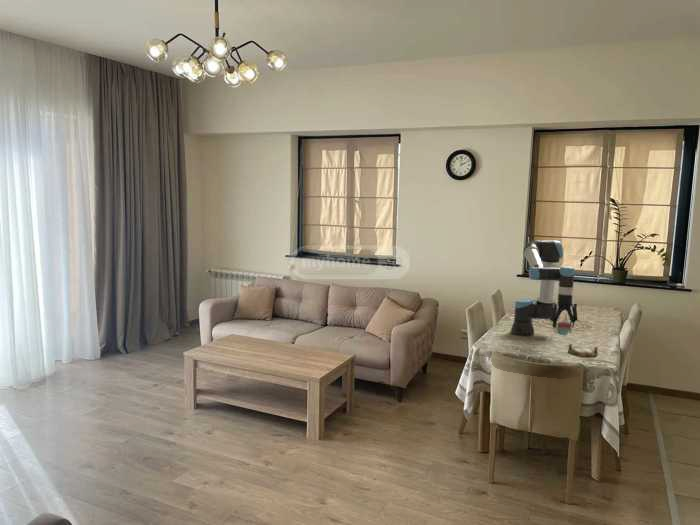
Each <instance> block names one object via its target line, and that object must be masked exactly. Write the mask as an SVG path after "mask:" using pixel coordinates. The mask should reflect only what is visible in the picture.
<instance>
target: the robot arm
mask: <svg viewBox="0 0 700 525" xmlns="http://www.w3.org/2000/svg"><path fill="white" fill-rule="evenodd" d="M563 249H564V248H563V245H562V242H561V241H559V240H554V239H552V240H551V239H548V240H547V239H546V240H544V239H541V240H540V239H536V240H535V239H534V240H531V241H529V242H527V243H526V245H525V246H524V247H523V251H522V252H523V256H524V258H525V259H526V260H527V262H528V264H529V269H528V276H529V280H533V281H540V288H539V296H538V297H537V298H536V301H534V299H532V298H521V299H517V300H515V303H514V318H513V322H512V326H511V328H510V333H511V334H512V333H513V334H512V335H515V334H516V336H520V335H522V337H530V335H532V336H535V329H534V326H533V320H546V321H548V320H550V321H551V322H552V328H553V333H554V334H558V331H557V330H558V323H559V322H558V320H559V318H560V316H561V314H562V312H563V311H566V312H567V313H566V314H567V316H568V318H569V321H568V324H570V325H571V329H569V331H568V333H569V334H573V328H574V326H575V323H576V321H578V312H577V311H578V310H577V307H578V304H577V303H574V302H573V294H574V291H573V290H574V278H575V268H574V267H573V266H565V265H564V266H559V267H557V264H558V263H559V262H560V260H561V259H563V256H564V250H563ZM556 281H557V282H558V294H557V302H556V300H555V298H554V294H555V293H554V291H555V285H556V284H555V282H556Z"/></svg>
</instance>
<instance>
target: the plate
mask: <svg viewBox="0 0 700 525" xmlns="http://www.w3.org/2000/svg"><path fill="white" fill-rule="evenodd" d="M598 348H599V347H598V346H594V349H593V348H589V347H583V346H573V344H571V343H569V344H568V349H567V350H568V351H567V352H568V354H571V355H573V356H577V357H581V358H582V357H583V358H595V357H597V356H598Z"/></svg>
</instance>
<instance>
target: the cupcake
mask: <svg viewBox="0 0 700 525" xmlns="http://www.w3.org/2000/svg"><path fill="white" fill-rule="evenodd" d="M564 316H565V318H564V321H559V322H558V330H557V334H558V335H560V336H568V333H569V332H568V331H569V329H571V325H570V324H569V322H566V321H567V316H568V313H566V314H565V315H564Z"/></svg>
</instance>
